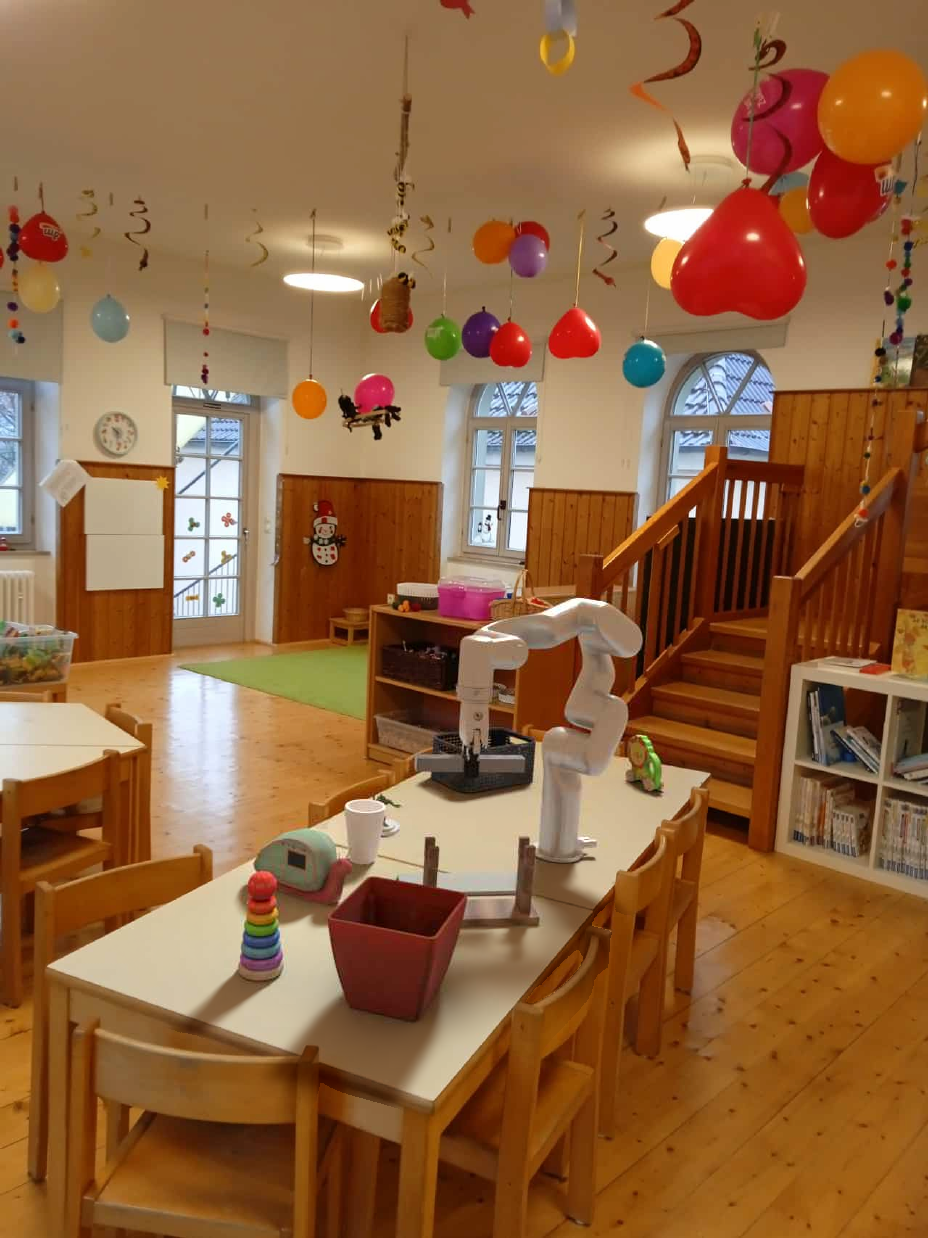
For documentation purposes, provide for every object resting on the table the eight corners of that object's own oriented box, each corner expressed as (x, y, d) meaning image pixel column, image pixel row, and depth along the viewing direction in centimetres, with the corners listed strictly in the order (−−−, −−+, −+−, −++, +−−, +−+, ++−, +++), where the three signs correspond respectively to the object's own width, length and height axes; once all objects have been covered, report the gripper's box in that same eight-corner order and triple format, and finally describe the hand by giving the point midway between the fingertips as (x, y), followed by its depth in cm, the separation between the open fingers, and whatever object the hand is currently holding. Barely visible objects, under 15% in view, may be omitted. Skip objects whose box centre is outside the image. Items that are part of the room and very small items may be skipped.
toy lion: (664, 792, 286) (669, 743, 284) (649, 793, 284) (654, 744, 282) (634, 776, 300) (638, 730, 298) (620, 777, 298) (624, 731, 296)
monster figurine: (361, 839, 233) (363, 799, 231) (346, 822, 244) (348, 784, 242) (406, 834, 238) (408, 795, 236) (390, 818, 249) (392, 781, 247)
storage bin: (497, 765, 304) (500, 725, 302) (537, 782, 288) (541, 739, 287) (425, 777, 286) (428, 734, 284) (464, 796, 271) (467, 751, 269)
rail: (521, 768, 209) (522, 755, 209) (524, 772, 206) (525, 759, 206) (414, 767, 205) (415, 754, 204) (416, 771, 202) (417, 758, 201)
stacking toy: (241, 960, 171) (244, 862, 169) (285, 960, 172) (289, 863, 169) (234, 982, 163) (237, 880, 161) (280, 983, 164) (284, 881, 161)
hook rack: (528, 905, 201) (533, 833, 199) (539, 924, 193) (544, 850, 190) (412, 907, 197) (417, 834, 194) (418, 927, 188) (423, 851, 186)
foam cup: (389, 856, 223) (392, 803, 221) (373, 870, 215) (375, 815, 213) (353, 849, 226) (355, 797, 224) (335, 862, 218) (338, 808, 216)
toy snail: (247, 882, 204) (249, 821, 202) (272, 871, 211) (274, 812, 209) (337, 915, 191) (340, 850, 189) (360, 902, 198) (363, 839, 196)
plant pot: (365, 960, 174) (369, 873, 172) (463, 981, 169) (469, 892, 166) (320, 1013, 156) (324, 917, 153) (429, 1038, 150) (435, 939, 148)
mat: (517, 875, 217) (518, 872, 217) (528, 893, 207) (528, 890, 207) (397, 877, 211) (397, 873, 211) (402, 896, 202) (402, 892, 202)
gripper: (499, 702, 196) (494, 787, 198) (484, 685, 212) (478, 764, 214) (464, 701, 195) (459, 787, 197) (451, 684, 210) (446, 763, 213)
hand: (469, 774), depth 206 cm, fingers closed on rail, 3 cm apart
